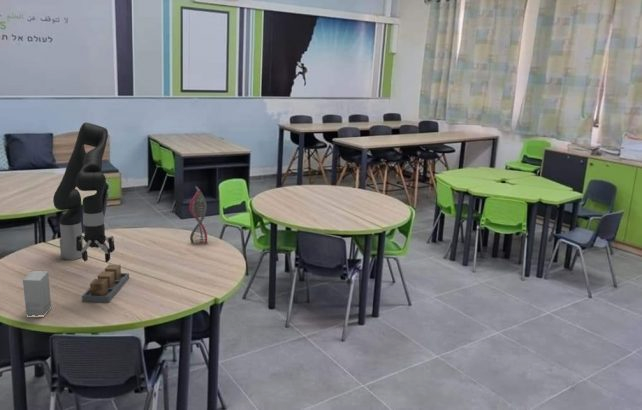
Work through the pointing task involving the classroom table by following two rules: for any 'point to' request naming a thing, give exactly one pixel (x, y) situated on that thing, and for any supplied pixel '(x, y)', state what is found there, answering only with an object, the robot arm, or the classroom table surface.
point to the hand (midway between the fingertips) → (96, 261)
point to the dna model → (198, 217)
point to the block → (99, 287)
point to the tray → (110, 291)
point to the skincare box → (37, 293)
